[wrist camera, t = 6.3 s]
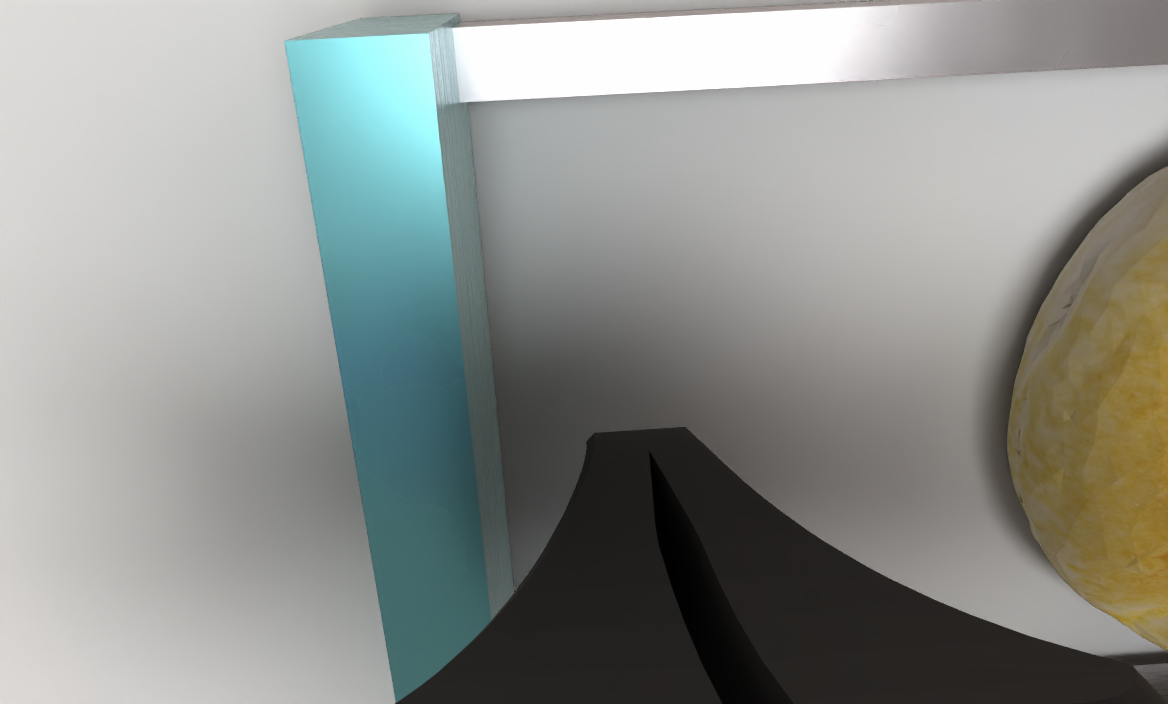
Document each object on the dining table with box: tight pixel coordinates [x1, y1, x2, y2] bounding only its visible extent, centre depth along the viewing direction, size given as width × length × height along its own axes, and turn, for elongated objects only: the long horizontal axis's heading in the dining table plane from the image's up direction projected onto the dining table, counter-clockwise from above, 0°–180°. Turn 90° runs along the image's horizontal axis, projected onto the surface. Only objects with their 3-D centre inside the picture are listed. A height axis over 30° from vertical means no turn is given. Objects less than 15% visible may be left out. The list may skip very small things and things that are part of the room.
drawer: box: [285, 0, 1168, 703], centre depth 12 cm, size 12×19×4 cm, turn 93°
